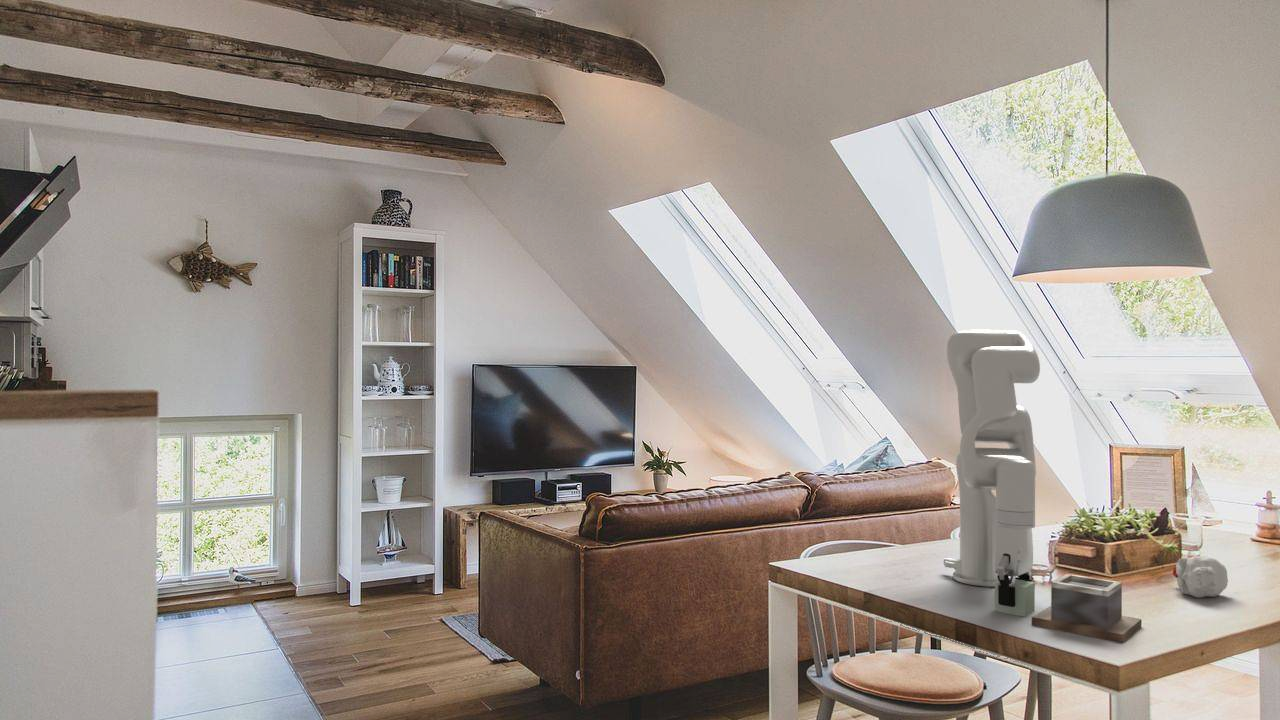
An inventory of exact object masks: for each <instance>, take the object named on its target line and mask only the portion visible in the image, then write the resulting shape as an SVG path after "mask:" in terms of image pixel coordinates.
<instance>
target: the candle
mask: <svg viewBox="0 0 1280 720" xmlns="http://www.w3.org/2000/svg"><path fill="white" fill-rule="evenodd" d="M1172 575H1173V576H1174V577H1175V578H1176V581H1177V583H1176V584H1177V586H1178V589H1179V590H1180V592H1181V593H1183V594H1185V595H1189V596H1192V597H1194V598H1197V599H1200V598H1210V597H1211V598H1212V597H1213V598H1214V597H1216V596H1219V595H1220V594H1222V593H1223V592H1224V590H1226V589H1227V587H1228V582H1229V580H1228V578H1229V577H1228V570H1227V568H1226V566H1225V565H1224V564H1223V563H1221V562H1220V561H1219V560H1217V559H1215V558H1213V557H1208V556H1195V555H1193V556H1192V555H1191V556H1188V557H1181V558H1179V559H1178V560H1177V562H1176V565H1175V566H1174V568H1173V571H1172Z"/></svg>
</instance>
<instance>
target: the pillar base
mask: <svg viewBox="0 0 1280 720" xmlns="http://www.w3.org/2000/svg"><path fill="white" fill-rule="evenodd" d="M1050 589H1051V591H1050V592H1051V594H1050V596H1051V597H1050V599H1051V601H1050V602H1051V603H1050V605H1049V606H1048V607H1046V608H1045V609H1043V610H1041V611H1039V612H1037V613H1036V614H1034V615H1033V616H1031V625H1033V626H1038V627H1041V628H1047V629H1052V630H1057V631H1062V632H1067V633H1073V634H1076V635H1083V636H1088V637H1091V638H1092V637H1093V638H1098V639H1103V640H1107V641H1113V642H1118V643H1121V644H1122V643H1124V642H1125V641H1127V640H1128V639H1129V638H1130V637H1131V636H1132V635H1134V634H1135V633H1136V632H1137V631H1138V630H1139V629H1141V628H1142V618H1138V617H1133V616H1132V617H1130V616H1127V615H1123V614H1122V610H1123V605H1122V603H1123V602H1122V601H1123V600H1122V599H1123V597H1122V596H1123V595H1122V594H1123V592H1122V590H1123V582H1121V581H1115V580H1108V579H1102V578H1098V577H1097V578H1096V577H1090V576H1086V575H1085V576H1083V575H1078V574H1077V575H1076V574H1071V573H1066V574H1064V575H1062V576H1060V577H1058V578H1056V579H1055V580H1053V581H1051V587H1050Z"/></svg>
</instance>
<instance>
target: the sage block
mask: <svg viewBox="0 0 1280 720" xmlns="http://www.w3.org/2000/svg"><path fill="white" fill-rule="evenodd" d="M1009 579H1010V577H1009ZM1035 586H1036V583H1035V582H1033V581H1032V582H1029V581H1023V580H1017V579H1015V582H1014V585H1013V587H1015V606H1014V607H1009V606H1004V605H999V603H998V581H996V582H995V587H994V612H999V613H1004V614H1009V615H1015V616H1019V617H1024V618H1025V617H1027V616H1028V615H1030V614H1032V613H1034V612H1035V608H1036V607H1035V605H1036V604H1035V603H1036V602H1035V601H1036V599H1035V598H1036V597H1035V596H1036V591H1035V590H1036V587H1035Z"/></svg>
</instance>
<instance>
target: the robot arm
mask: <svg viewBox="0 0 1280 720" xmlns="http://www.w3.org/2000/svg"><path fill="white" fill-rule="evenodd" d="M946 358H947V361H948V366H949V369H950V372H951V374H952V376H953V379H954V382H955V386H956V391H957V399H958V400H957V401H958V402H957V403H958V415H959V426H960V428H959V430H960V432H961V433H960V434H961V437H960V443H959V454H958V455H957V457H956V462H955V463H956V465H955V467H956V475H957V481H958V487H959V488H958V489H959V558H957V559H953V558H949V557H945V558H944V559H943V565H944V568H951V569H954V570H955V571H954V572H953V573H952V579H953V580H955V581H956V582H958V583H962V584H966V585H970V586H978V587H988V588H989V587H992V588H995V582H996V581H998V603H999V605H1004V606H1009V607H1014V606H1015V587H1013V585H1014V582H1015V579H1017V580H1023V581H1029V582H1033V581H1032V578H1033V573H1032V570H1033V565H1034V544H1033V543H1034V542H1033V539H1034V538H1033V530H1032V529H1034V528H1036V474H1037V470H1036V469H1037V468H1036V467H1037V466H1036V457H1035V448H1034V447H1035V446H1034V445H1035V444H1034V436H1033V433H1034V432H1033V425H1032V419H1031V415H1030V414H1029V412H1028V410H1027V409H1026V408H1025V407H1024V406H1022V405H1019V404H1017V397H1016V390H1015V384H1033V383H1035V382H1036V381H1037V380H1038V379H1039V376H1040V373H1041V364H1040V359H1039V356H1038V353H1037V351H1036V349H1035V347H1034V345H1032V343H1031V342H1030V341H1029V339H1028V338H1027V336H1026V335H1025V334H1024V333H1022V332H1021V331H1017V330H1012V329H1011V330H1010V329H1009V330H1007V329H1005V330H1004V329H1003V330H1002V329H1001V330H1000V329H996V330H995V329H994V330H991V329H970V330H962V331H957V332H954V333H953V334H951V336H950V337H949V339H948V340H947V347H946ZM977 443H978V444H1006V445H1008V446H1009V448H999V447H976V444H977ZM993 490H995V494H994V493H993V492H992V491H993ZM1009 578H1010V579H1009Z"/></svg>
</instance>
